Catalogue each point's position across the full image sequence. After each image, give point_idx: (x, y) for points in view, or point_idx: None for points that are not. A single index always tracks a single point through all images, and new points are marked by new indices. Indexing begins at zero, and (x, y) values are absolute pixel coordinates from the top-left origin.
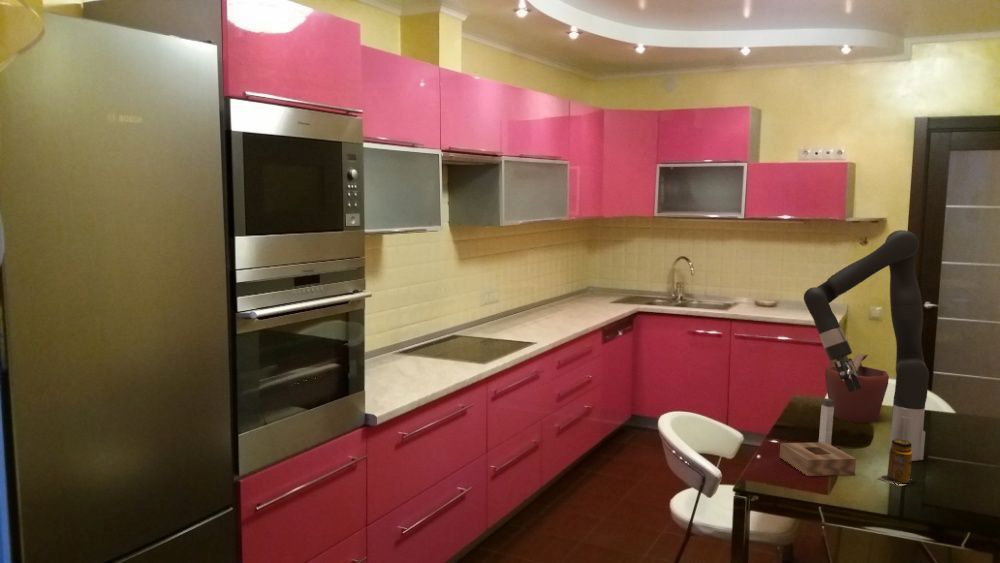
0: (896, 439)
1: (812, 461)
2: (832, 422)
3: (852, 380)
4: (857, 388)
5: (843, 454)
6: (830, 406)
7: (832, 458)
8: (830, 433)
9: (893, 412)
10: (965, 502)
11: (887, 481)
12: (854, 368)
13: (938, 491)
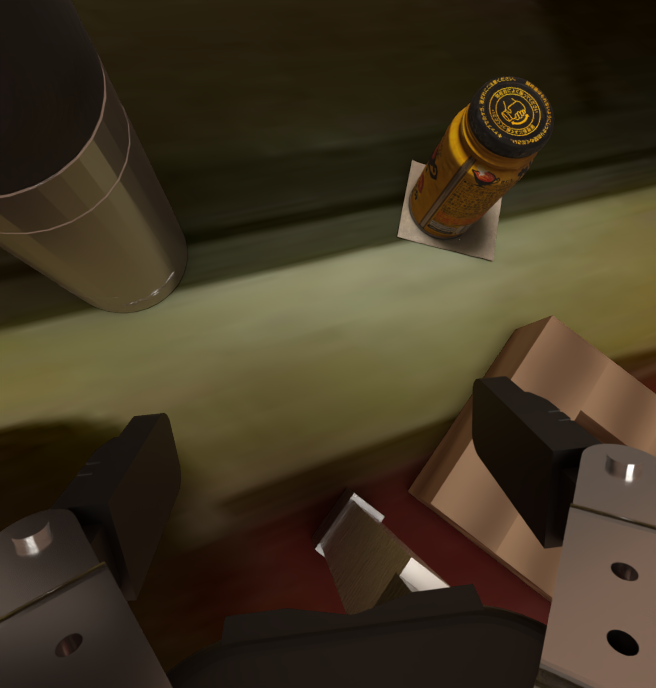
0: (504, 136)
1: None
2: (381, 527)
3: (138, 560)
4: (172, 457)
5: (540, 373)
6: (413, 587)
7: (629, 386)
8: (371, 516)
9: (74, 214)
10: (482, 26)
11: (492, 228)
12: (56, 638)
13: (450, 94)
